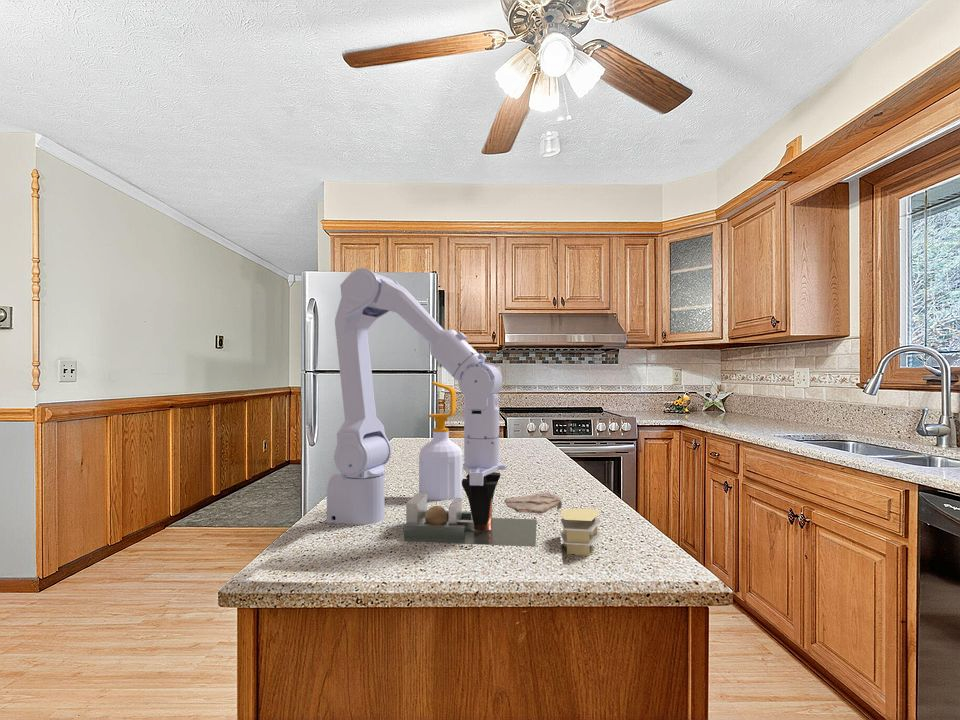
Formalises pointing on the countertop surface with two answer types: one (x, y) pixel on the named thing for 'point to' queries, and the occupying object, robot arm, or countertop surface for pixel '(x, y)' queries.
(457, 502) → the ram
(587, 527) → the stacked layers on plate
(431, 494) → the soap bottle
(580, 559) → the countertop surface
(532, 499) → the stone
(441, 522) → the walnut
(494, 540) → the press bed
